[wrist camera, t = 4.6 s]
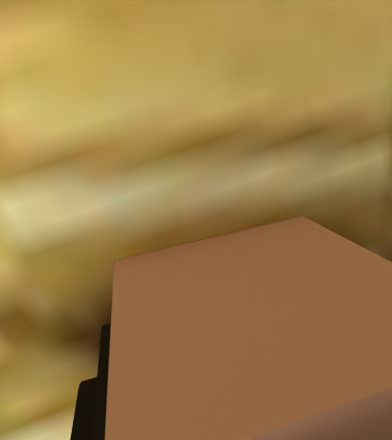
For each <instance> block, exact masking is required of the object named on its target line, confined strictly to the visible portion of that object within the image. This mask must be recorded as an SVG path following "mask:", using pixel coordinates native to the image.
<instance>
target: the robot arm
mask: <svg viewBox="0 0 392 440" xmlns="http://www.w3.org/2000/svg"><path fill="white" fill-rule="evenodd" d="M110 334H111V324H108V325H104V326H102V331H101V341H100V352H99V363H98V373H97V377H95V378H92V379H88V380H85V381H82V382H81V383H80V385H79V389H78V395H77V401H76V408H75V414H74V420H73V426H72V433H71V439H70V440H105V428H106V409H107V390H108V371H109V352H110Z"/></svg>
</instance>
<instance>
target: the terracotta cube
mask: <svg viewBox="0 0 392 440" xmlns="http://www.w3.org/2000/svg"><path fill="white" fill-rule="evenodd" d="M105 440H392V262H390V261H388V260H386V259H385V258H383V257H381V256H379V255H377V254H375V253H373V252H371V251H369V250H367V249H365V248H363V247H361V246H359V245H358V244H356V243H354V242H352V241H350V240H348V239H346V238H344V237H342V236H340V235H338V234H336V233H334V232H332V231H331V230H329V229H327V228H325V227H323V226H321V225H319V224H317V223H315V222H313V221H311V220H309V219H307V218H305V217H304V216H300V217H296V218H292V219H288V220H283V221H279V222H275V223H271V224H266V225H262V226H258V227H254V228H250V229H245V230H241V231H237V232H233V233H228V234H224V235H220V236H216V237H212V238H207V239H203V240H199V241H195V242H191V243H186V244H182V245H178V246H174V247H169V248H165V249H161V250H157V251H153V252H148V253H144V254H140V255H136V256H132V257H127V258H123V259H119V260H115V261H114V277H113V296H112V315H111V334H110V352H109V371H108V390H107V409H106V428H105Z"/></svg>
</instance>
